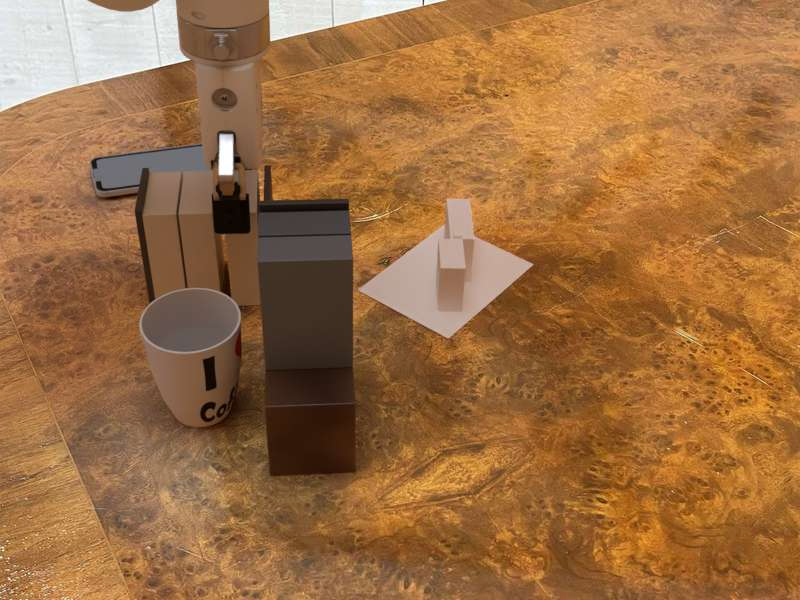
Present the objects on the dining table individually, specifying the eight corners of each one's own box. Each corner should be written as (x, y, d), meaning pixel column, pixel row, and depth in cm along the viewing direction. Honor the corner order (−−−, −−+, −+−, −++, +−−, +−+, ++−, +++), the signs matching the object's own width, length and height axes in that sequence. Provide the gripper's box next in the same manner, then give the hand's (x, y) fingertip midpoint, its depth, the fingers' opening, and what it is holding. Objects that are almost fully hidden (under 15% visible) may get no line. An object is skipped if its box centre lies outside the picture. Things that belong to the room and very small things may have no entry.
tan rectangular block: (263, 305, 103) (256, 212, 96) (232, 306, 103) (223, 213, 96) (264, 260, 108) (257, 169, 101) (234, 261, 108) (226, 170, 101)
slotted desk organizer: (150, 309, 102) (134, 210, 95) (156, 264, 108) (142, 167, 100) (276, 305, 103) (270, 207, 96) (276, 260, 109) (270, 164, 101)
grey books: (265, 370, 85) (256, 256, 77) (266, 312, 90) (258, 200, 83) (353, 367, 85) (353, 253, 78) (349, 309, 91) (348, 198, 83)
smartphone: (234, 174, 119) (96, 193, 115) (234, 181, 120) (97, 201, 115) (220, 140, 124) (88, 157, 120) (220, 147, 125) (89, 164, 121)
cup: (211, 454, 88) (199, 366, 82) (134, 417, 91) (117, 330, 85) (267, 394, 94) (260, 308, 87) (193, 361, 97) (181, 276, 90)
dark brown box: (269, 475, 87) (264, 407, 82) (270, 373, 96) (266, 305, 91) (355, 472, 87) (355, 403, 82) (348, 370, 97) (348, 303, 91)
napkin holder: (444, 222, 114) (447, 177, 111) (534, 263, 109) (541, 218, 106) (356, 290, 105) (356, 244, 102) (450, 339, 100) (453, 292, 96)
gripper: (269, 80, 82) (274, 257, 93) (271, -13, 95) (275, 151, 106) (169, 79, 81) (187, 258, 92) (185, -15, 94) (199, 151, 105)
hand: (234, 200), depth 99 cm, fingers open, 9 cm apart
